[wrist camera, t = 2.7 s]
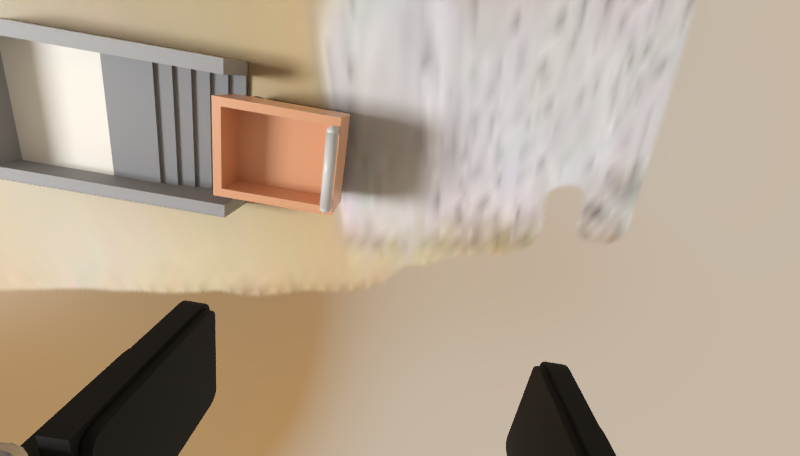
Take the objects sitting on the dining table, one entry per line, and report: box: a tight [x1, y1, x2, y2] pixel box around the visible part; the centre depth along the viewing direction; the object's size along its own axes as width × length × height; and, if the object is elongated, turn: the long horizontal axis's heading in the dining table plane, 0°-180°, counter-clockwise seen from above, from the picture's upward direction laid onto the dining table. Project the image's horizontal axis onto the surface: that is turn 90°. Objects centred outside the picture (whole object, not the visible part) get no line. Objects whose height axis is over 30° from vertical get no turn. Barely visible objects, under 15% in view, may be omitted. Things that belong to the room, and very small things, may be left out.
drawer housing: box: [0, 18, 248, 218], centre depth 33 cm, size 22×13×6 cm, turn 81°
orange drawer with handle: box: [211, 94, 350, 215], centre depth 32 cm, size 10×8×8 cm
